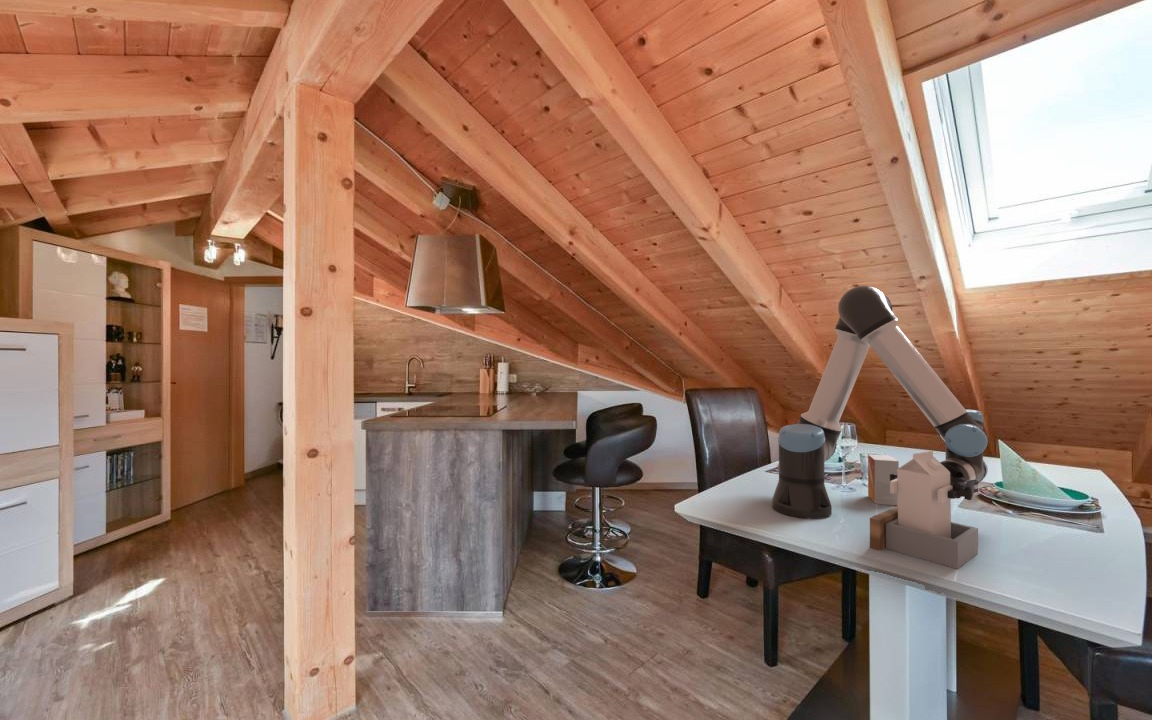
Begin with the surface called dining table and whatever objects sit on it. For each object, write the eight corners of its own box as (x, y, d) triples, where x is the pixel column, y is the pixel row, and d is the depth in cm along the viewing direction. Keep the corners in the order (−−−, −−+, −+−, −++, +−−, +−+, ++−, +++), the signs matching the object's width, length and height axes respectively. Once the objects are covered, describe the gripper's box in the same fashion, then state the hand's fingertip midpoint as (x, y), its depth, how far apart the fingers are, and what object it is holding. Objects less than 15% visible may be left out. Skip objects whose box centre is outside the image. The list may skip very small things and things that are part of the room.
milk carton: (897, 535, 108) (896, 451, 108) (916, 530, 111) (915, 448, 111) (932, 546, 101) (931, 456, 101) (951, 540, 104) (950, 453, 104)
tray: (957, 569, 96) (957, 541, 96) (885, 548, 106) (885, 523, 106) (977, 553, 103) (978, 528, 103) (909, 535, 114) (909, 512, 114)
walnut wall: (879, 551, 105) (879, 520, 105) (869, 548, 107) (869, 517, 107) (911, 533, 115) (911, 505, 115) (902, 531, 117) (902, 503, 117)
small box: (867, 496, 147) (867, 454, 147) (891, 498, 145) (891, 455, 145) (874, 503, 139) (874, 459, 139) (899, 506, 137) (899, 461, 137)
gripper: (1007, 501, 108) (976, 522, 95) (902, 482, 125) (863, 497, 112) (1007, 468, 108) (976, 485, 95) (901, 454, 125) (862, 466, 112)
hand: (915, 491), depth 103 cm, fingers closed on milk carton, 8 cm apart
